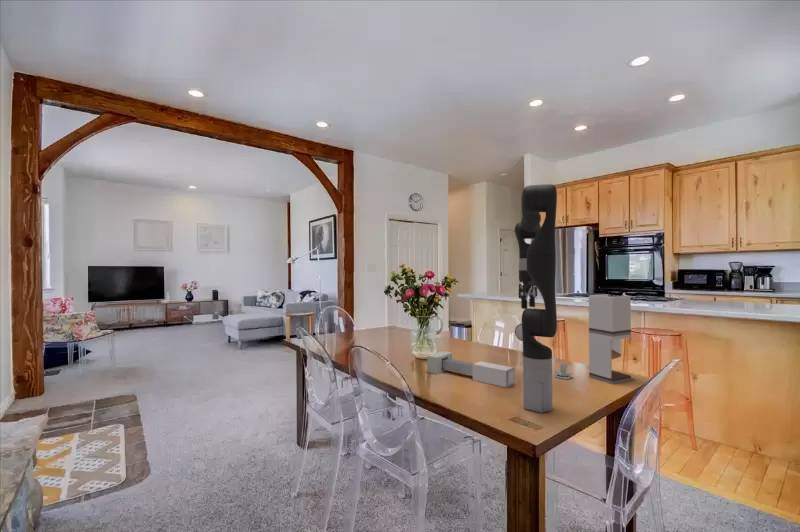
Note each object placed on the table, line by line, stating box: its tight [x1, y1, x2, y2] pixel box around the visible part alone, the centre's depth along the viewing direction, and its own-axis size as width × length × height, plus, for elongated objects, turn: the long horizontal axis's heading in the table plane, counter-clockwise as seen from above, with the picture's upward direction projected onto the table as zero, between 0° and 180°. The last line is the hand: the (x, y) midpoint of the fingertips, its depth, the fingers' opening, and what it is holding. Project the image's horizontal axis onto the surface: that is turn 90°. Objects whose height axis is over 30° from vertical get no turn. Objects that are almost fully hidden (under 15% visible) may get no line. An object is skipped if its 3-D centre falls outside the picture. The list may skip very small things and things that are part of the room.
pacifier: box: [553, 361, 574, 380], centre depth 156 cm, size 7×6×6 cm
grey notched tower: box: [588, 293, 632, 385], centre depth 153 cm, size 11×11×35 cm
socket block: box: [426, 350, 453, 375], centre depth 168 cm, size 12×6×7 cm, turn 139°
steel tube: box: [442, 358, 475, 376], centre depth 160 cm, size 4×26×4 cm, turn 49°
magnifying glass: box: [514, 323, 523, 342], centre depth 175 cm, size 9×2×20 cm, turn 57°
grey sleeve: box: [472, 360, 515, 389], centre depth 150 cm, size 6×16×7 cm, turn 49°
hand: (528, 307), depth 154 cm, fingers open, 8 cm apart
